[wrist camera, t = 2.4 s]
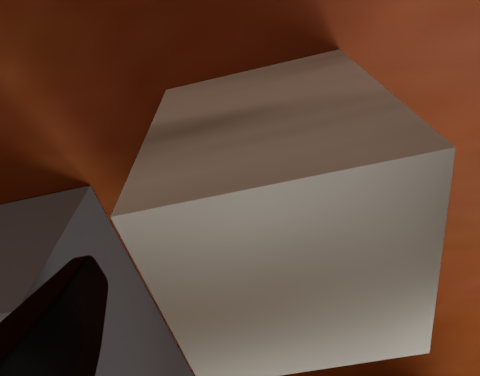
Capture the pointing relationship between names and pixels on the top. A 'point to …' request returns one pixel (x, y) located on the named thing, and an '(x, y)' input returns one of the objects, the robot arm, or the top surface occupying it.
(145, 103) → the top surface
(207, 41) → the top surface
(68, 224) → the plinth
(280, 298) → the cream block
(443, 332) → the top surface
